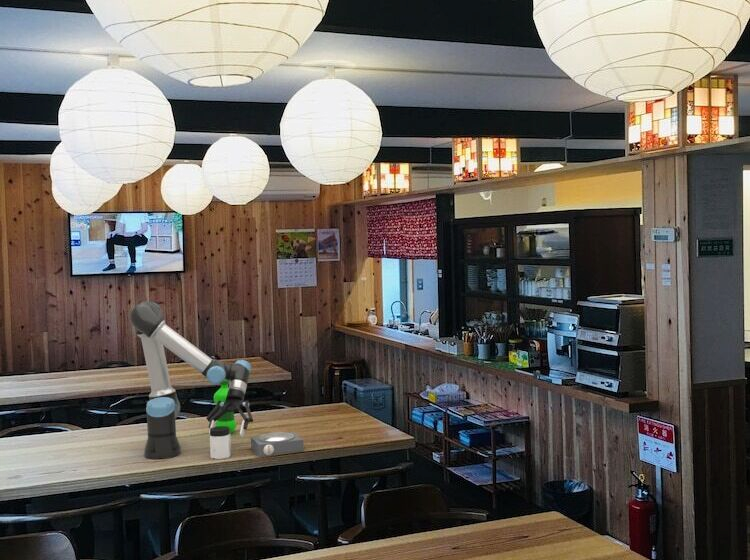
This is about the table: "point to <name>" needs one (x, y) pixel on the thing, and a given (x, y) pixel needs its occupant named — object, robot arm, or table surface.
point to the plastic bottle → (229, 416)
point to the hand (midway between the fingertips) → (225, 435)
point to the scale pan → (276, 437)
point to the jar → (220, 442)
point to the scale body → (276, 446)
